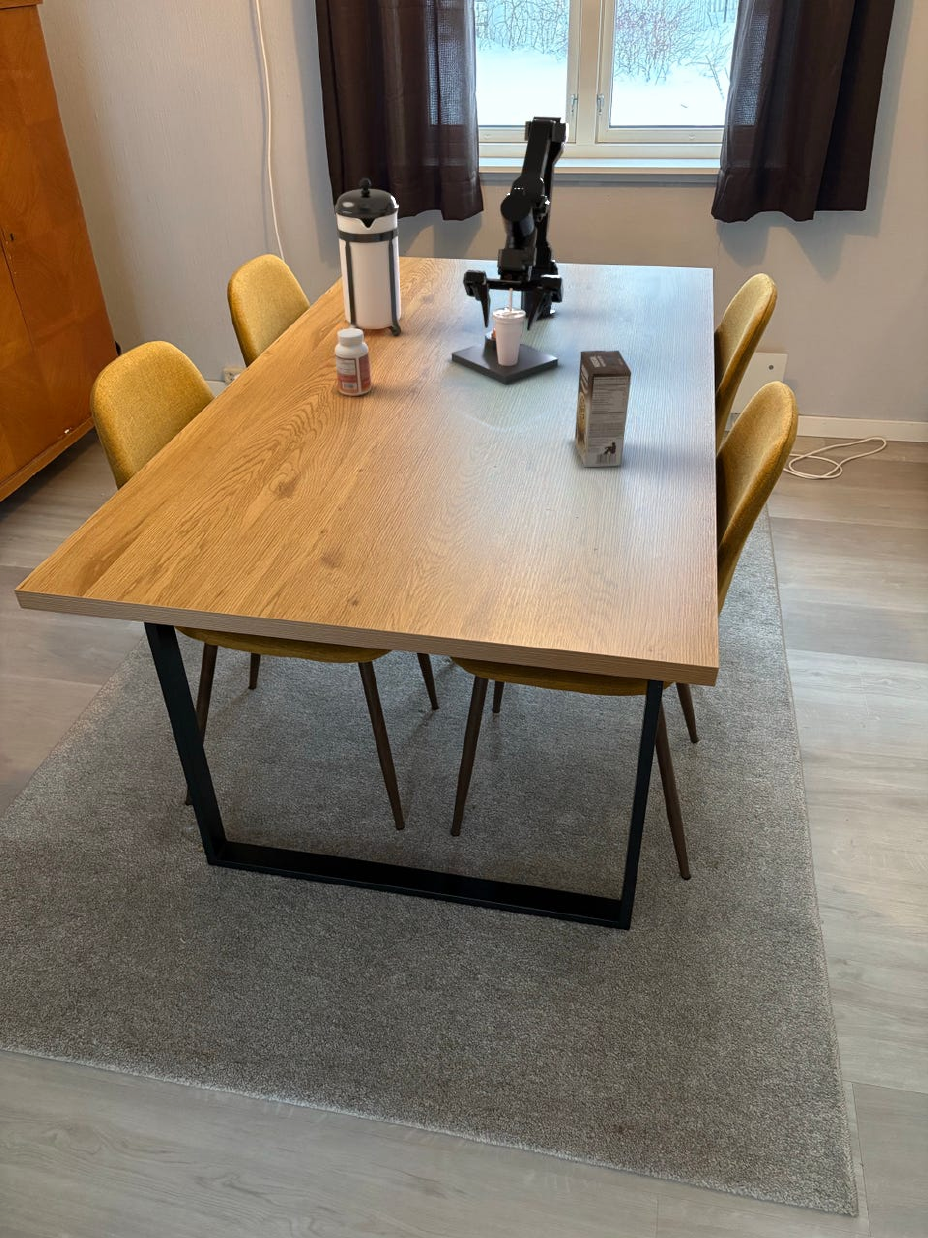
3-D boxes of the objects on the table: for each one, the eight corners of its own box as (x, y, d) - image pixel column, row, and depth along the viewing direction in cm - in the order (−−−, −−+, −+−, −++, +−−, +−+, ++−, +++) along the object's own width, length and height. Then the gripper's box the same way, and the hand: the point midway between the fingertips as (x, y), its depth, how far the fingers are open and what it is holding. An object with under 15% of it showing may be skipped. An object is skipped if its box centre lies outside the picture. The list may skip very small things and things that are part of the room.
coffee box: (572, 442, 159) (579, 350, 149) (610, 441, 159) (619, 348, 150) (583, 468, 152) (590, 372, 142) (622, 466, 152) (632, 371, 142)
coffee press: (426, 325, 204) (421, 176, 186) (371, 345, 195) (361, 190, 177) (372, 307, 214) (363, 163, 196) (318, 325, 205) (303, 176, 187)
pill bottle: (364, 381, 180) (360, 324, 173) (376, 392, 176) (372, 334, 169) (333, 387, 178) (328, 329, 171) (345, 399, 174) (340, 340, 167)
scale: (450, 360, 188) (449, 343, 186) (503, 343, 196) (503, 326, 194) (505, 385, 178) (506, 367, 176) (559, 365, 186) (560, 348, 184)
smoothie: (530, 360, 184) (533, 287, 175) (513, 370, 180) (515, 297, 171) (502, 353, 187) (504, 282, 178) (485, 363, 182) (485, 291, 174)
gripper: (464, 225, 173) (451, 304, 171) (565, 230, 170) (553, 311, 168) (473, 256, 184) (461, 331, 182) (568, 262, 181) (556, 339, 179)
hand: (507, 328), depth 178 cm, fingers open, 8 cm apart
